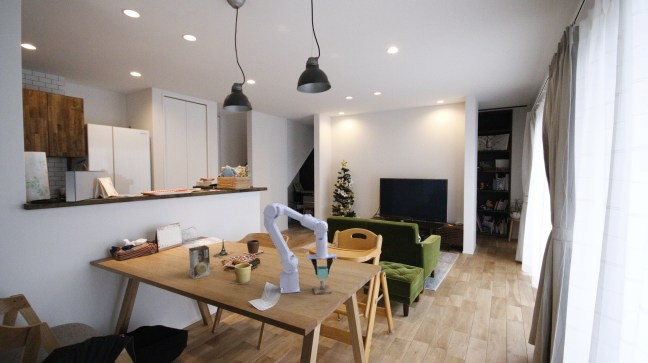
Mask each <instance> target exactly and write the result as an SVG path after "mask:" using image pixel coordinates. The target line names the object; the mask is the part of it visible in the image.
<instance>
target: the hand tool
mask: <svg viewBox="0 0 648 363" xmlns="http://www.w3.org/2000/svg"><path fill="white" fill-rule="evenodd" d="M247 263H249V264H252V265H254V266H257V265H260V264H261V259H260V258H258V257H256V258H255V257H254V259H252V260H250V261H248V262H247Z"/></svg>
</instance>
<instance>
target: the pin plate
mask: <svg viewBox="0 0 648 363" xmlns="http://www.w3.org/2000/svg"><path fill="white" fill-rule="evenodd" d="M313 291H314V294H315V296H317V295H328V294H329V295H331V294H332V293H333V290H332V289H331V285H330V284H325V280H321V281H320V284H319V285H313Z"/></svg>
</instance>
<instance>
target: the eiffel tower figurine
mask: <svg viewBox="0 0 648 363" xmlns="http://www.w3.org/2000/svg"><path fill="white" fill-rule="evenodd" d="M224 256H228V252H227V251H226V248H225V243H224V240H222V247H221V250H220V252H218V253H216V254H214V255H212V257H213V258H218V259H221V257H224Z"/></svg>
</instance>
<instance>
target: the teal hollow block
mask: <svg viewBox="0 0 648 363" xmlns="http://www.w3.org/2000/svg"><path fill="white" fill-rule="evenodd" d="M316 279H317V280H324V279H329V274H328V268H327V265H317V275H316Z"/></svg>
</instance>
